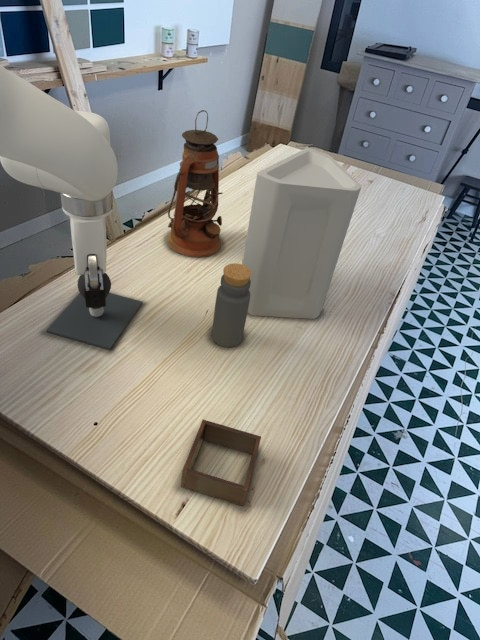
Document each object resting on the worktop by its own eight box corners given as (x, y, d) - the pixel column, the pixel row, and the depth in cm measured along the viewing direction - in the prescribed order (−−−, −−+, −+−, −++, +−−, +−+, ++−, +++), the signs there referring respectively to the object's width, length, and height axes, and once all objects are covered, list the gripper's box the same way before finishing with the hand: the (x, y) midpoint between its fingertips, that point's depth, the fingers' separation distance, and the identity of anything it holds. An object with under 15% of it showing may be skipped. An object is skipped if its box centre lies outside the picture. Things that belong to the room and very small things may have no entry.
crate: (242, 506, 62) (247, 490, 60) (180, 486, 63) (182, 470, 61) (257, 452, 69) (261, 436, 66) (200, 435, 70) (202, 419, 67)
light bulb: (96, 329, 83) (93, 285, 77) (74, 316, 85) (68, 271, 79) (119, 314, 87) (117, 270, 81) (97, 302, 89) (93, 258, 83)
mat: (110, 350, 81) (110, 348, 80) (46, 332, 82) (46, 330, 81) (142, 303, 91) (142, 301, 91) (85, 288, 92) (85, 286, 92)
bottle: (242, 349, 85) (254, 283, 76) (210, 345, 85) (219, 279, 75) (242, 328, 90) (254, 263, 80) (212, 324, 89) (220, 259, 80)
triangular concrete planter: (296, 339, 89) (335, 206, 71) (233, 305, 95) (255, 173, 77) (337, 295, 102) (379, 173, 84) (280, 267, 108) (308, 147, 90)
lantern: (195, 267, 103) (207, 129, 84) (150, 245, 107) (151, 109, 88) (236, 239, 115) (255, 112, 95) (193, 220, 119) (203, 94, 100)
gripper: (61, 174, 76) (71, 262, 87) (61, 229, 64) (72, 322, 75) (108, 175, 78) (112, 260, 89) (117, 228, 66) (120, 319, 77)
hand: (94, 288), depth 82 cm, fingers open, 9 cm apart
